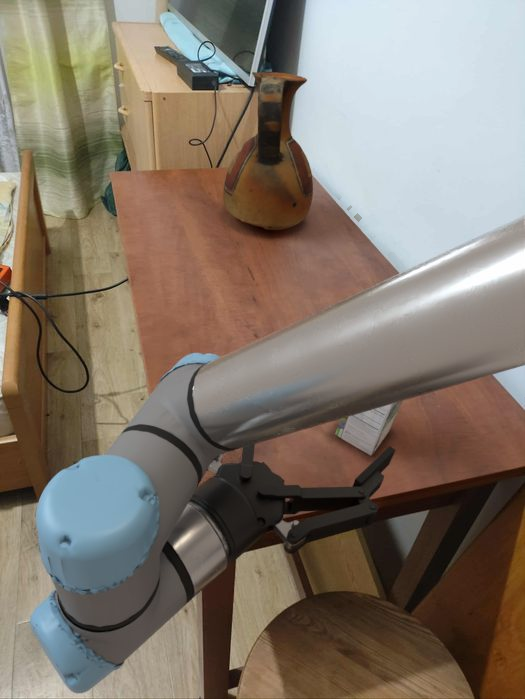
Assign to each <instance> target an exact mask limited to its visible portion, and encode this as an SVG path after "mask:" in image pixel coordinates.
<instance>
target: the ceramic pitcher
mask: <svg viewBox="0 0 525 699" xmlns="http://www.w3.org/2000/svg"><path fill="white" fill-rule="evenodd" d="M251 74H252V76H253V78H254V79H255V81H256V84H257V85H258V86H259V89H258V93H257V133H256V134H255V135H254V136H252V137H250V138H248V140H246V141H245V142H244V143H243V144H242V145H241V146H240V148H238V150H237V151H236V153H235V154H234V156H233V158H232V160H231V162H230V164H229V166H228V169H227V172H226V174H225V179H224V183H223V194H222V198H223V205H224V207H225V210H227V212H228V213H229V214H230V215H231V216H232V217H234V218H236V219H237V220H239V221H241V222H242V223H246V224H249V225H251V226H255V227H260V228H262V229H264V230H270V231H274V230H275V231H279V230H285V229H289V228H291V227H293V226H296V225H299V224H300V223H301V222H303V221H304V220H305V219H306V218H307V216H308V215H309V212H310V209H311V206H312V202H313V196H314V183H313V173H312V169H311V165H310V162H309V160H308V157H307V155H306V154H305V152H304V150H303V148H302V146H301V145H300V144H299V142H297V141H296V139H294V136H292V132H291V128H290V127H291V126H290V117H291V109H292V103H293V100H294V96H295V95H296V93H297V91H298V90H299V89H300V88H301V86H303V85H304V84H306V83H307V82H308V79H307V78H306V77H303V76H301V75H295V74H290V73H287V72H286V73H285V72H256V71H253V72H251Z"/></svg>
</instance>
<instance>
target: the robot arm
mask: <svg viewBox="0 0 525 699" xmlns="http://www.w3.org/2000/svg"><path fill="white" fill-rule="evenodd" d="M524 366H525V214H524V215H521V216H519V217H517V218H515V219H513V220H510V221H509V222H506V223H505V224H502V225H500V226H498V227H496V228H494V229H491V230H489V231H487V232H485V233H483V234H481V235H479V236H477V237H475V238H472V239H470V240H468V241H466V242H464V243H462V244H459V245H457V246H456V247H453V248H451V249H449V250H447V251H444V252H442V253H440V254H438V255H436V256H434V257H432V258H429V259H427V260H425V261H423V262H421V263H419V264H417V265H415V266H412V267H411V268H408V269H405V270H404V271H401V272H399V273H397V274H395V275H393V276H391V277H388V278H386V279H384V280H382V281H380V282H378V283H376V284H373V285H372V286H370V287H368V288H365V289H363V290H361V291H359V292H357V293H355V294H352V295H350V296H348V297H346V298H344V299H341V300H339V301H338V302H335V303H333V304H330V305H329V306H327V307H325V308H323V309H320V310H318V311H316V312H314V313H312V314H310V315H307V316H305V317H303V318H301V319H299V320H297V321H295V322H292V323H291V324H288V325H286V326H284V327H282V328H279V329H278V330H275V331H273V332H271V333H269V334H267V335H264V336H262V337H260V338H258V339H256V340H254V341H252V342H249V343H248V344H246V345H243V346H241V347H239V348H237V349H234V350H232V351H231V352H228V353H226V354H224V355H221V356H220V355H218V354H215V353H211V352H209V353H201V352H193V353H189V354H187V355H185V356H183V357H182V358H180V360H178V361H177V362H176V364H175V365H174V366H173V367H172V368H171V369H170V370H168V371H167V372H165V374H164V375H163V376H162V377H161V378H160V380H159V382H158V383H157V385H156V386H155V388H154V389H153V391H152V392H151V393H150V395H149V396H148V397H147V399H146V400H145V402H144V403H143V404H142V406H140V408H139V409H138V411H137V412H136V413H135V414H134V416H133V417H132V419H131V420H129V422H128V424H127V425H126V426H125V427H124V429H123V430H122V431H121V433H119V435H118V436H117V437H116V439H115V440H114V441H113V443H112V444H111V445H110V446H109V447H108V449H107V450H106V451H105V453H104V454H97V455H91V456H87V457H84V458H83V457H82V459H80V460H79V461H78V462H76V463H74V464H72V465H71V466H68V467H66V468H63V469H62V470H60V471H58V473H56V474H55V475H54V476H53V477H52V478H51V480H49V482H48V483H47V484H46V486H45V487H44V489H43V491H42V493H41V495H40V497H39V500H38V502H37V505H36V511H35V525H36V531H37V541H38V550H39V555H40V559H41V563H42V565H43V566H44V569H45V571H46V573H47V574H48V575H49V576H50V579H51V581H52V583H53V586H54V588H55V589H54V590H52V591H51V592H50V594H49V595H48V596H47V597H46V598H44V600H43V601H42V602H41V603H40V604H38V605H37V606H36V607H35V608H34V609H33V612H32V613H31V615H30V617H29V625H30V628H31V631H32V632H33V635H34V636H35V638H36V640H37V641H38V644H39V645H40V647H41V648H42V651H43V652H44V654H45V655H46V657H47V658H48V660H49V662H50V664H51V666H52V667H53V668H54V670H55V671H56V673H57V674H58V676H59V678H60V679H61V681H62V682H63V683H64V685H65V686H66V688H67V689H69V691H70V692H72V693H73V694H77V695H78V694H85V693H86V692H89V691H91V690H92V689H93V688H94V687H95V686H97V685H98V684H99V683H100V682H102V681H103V680H104V679H106V677H109V675H111V674H112V673H113V672H114V671H117V670H119V669H121V667H122V666H123V665H124V664H125V661H127V659H128V658H129V657H131V656H132V655H133V654H134V653H135V652H136V651H137V650H138V649H139V648H140V647H141V646H142V645H144V644H145V643H146V642H147V641H148V640H149V639H150V638H151V637H153V635H155V634H156V633H157V632H158V631H159V630H160V629H161V628H162V627H163V626H164V625H166V624H167V623H168V622H169V621H170V620H171V619H172V618H173V617H174V616H175V615H177V614H178V613H179V612H180V611H181V610H182V609H183V608H184V607H185V606H187V604H188V603H189V602H191V600H193V599H194V598H195V597H196V596H197V595H199V593H200V592H202V591H203V590H204V589H205V588H206V587H207V586H209V584H210V583H212V582H213V581H214V580H215V579H216V578H217V577H218V576H219V575H221V574H222V573H223V572H224V571H225V570H227V567H228V563H234V562H235V561H237V560H238V559H239V558H240V557H241V556H242V555H243V554H245V552H247V550H249V549H250V548H251V547H252V546H253V545H255V544H256V543H257V541H259V540H260V538H262V537H263V536H264V535H265V534H267V533H270V532H275V534H276V535H277V536H278V537H279V538H280V539H281V540H282V541H283V543H284V546H283V549H284V551H285V552H286V553H287V554H290V555H291V554H292V555H293V554H295V553H296V552H297V551H299V550H300V549H301V548H303V547H304V546H305V545H307V544H308V543H313V542H315V541H319V540H322V539H326V538H329V537H334V536H337V535H341V534H343V533H344V534H345V533H348V532H350V531H351V532H352V531H354V530H357V529H362V528H365V527H368V526H371V525H372V524H373V522H374V520H375V518H376V516H377V513H378V511H379V506H378V504H377V503H376V502H374V501H372V500H371V497H372V496H373V495H375V493H376V492H377V491H379V489H380V488H381V486H382V484H383V482H384V478H385V475H384V474H382V473H383V471H384V470H386V469H387V468H388V467H389V466H390V463H391V461H392V460H393V457H394V455H395V452H396V449H395V448H394V447H392V446H391V445H389V446H388V447H387V448H386V449H385V450H384V451H383V452H381V454H380V455H378V457H377V458H375V459H374V460H373V461H372V462H371V463H370V464H369V465H368V466H367V467H366V468H364V470H363V471H362V472H361V473H359V474H358V476H356V477H355V478H354V481H353V484H352V486H320V487H316V486H314V487H312V486H311V487H301V486H300V485H299V484H285V479H284V478H282V476H280V475H279V474H277V473H275V472H274V471H272V469H271V468H270V466H269V465H268V464H267V463H265V461H262V462H260V461H256V460H255V461H254V458H255V447H256V444H259V443H263V442H266V441H270V440H273V439H277V438H280V437H283V436H287V435H290V434H294V433H297V432H301V431H304V430H308V429H311V428H314V427H318V426H322V425H325V424H328V423H332V422H334V421H338V420H339V421H340V419H342V418H345V417H349V416H352V415H356V414H359V413H363V412H366V411H369V410H373V409H376V408H380V407H383V406H387V405H390V404H393V403H397V402H400V401H402V402H404V401H407V400H410V399H414V398H418V397H421V396H424V395H427V394H431V393H435V392H437V391H441V390H445V389H448V388H451V387H452V388H453V387H455V386H459V385H461V384H465V383H468V382H472V381H476V380H478V379H483V378H485V377H489V376H492V375H496V374H499V373H503V372H507V371H510V370H513V369H517V368H520V367H524ZM239 449H242V454H241V461H239V462H226V463H223V460H224V459H223V458H224V454H227V453H231V452H233V451H236V450H239ZM208 471H209V472H210V473H212V475H213V476H211V477H209V478H208V479H206V480H204V481H203V482H202V483H201V481H202V480H203V478H204V476H205V474H206V473H207V472H208ZM200 483H201V484H200ZM287 499H288V500H287ZM286 500H287V501H286ZM300 512H326V513H323V514H318V515H315V516H312V517H309V518H306V519H303V520H302V521H299V520H297V519H294V520H292V521H289V522H288V521H285V520H284V515H286V516H289V515H290V516H291V515H296V514H298V513H300Z"/></svg>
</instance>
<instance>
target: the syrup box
mask: <svg viewBox="0 0 525 699" xmlns="http://www.w3.org/2000/svg"><path fill="white" fill-rule="evenodd" d="M402 404H403V401H400V402H397V403H393V404H390V405H387V406H383V407H380V408H376V409H373V410H369V411H366V412H363V413H359V414H356V415H352V416H349V417H345V418H342V419H339V421H338V425H337V427H336V431H335V433H334V434H335V436H336V437H338V438H340V439H341V440H343V441H345V442H346V443H348V444H349V445H351V446H353V447H355V448H356V449H358V450H360V451H362V452H363V453H364V454H367V455H368V456H373V455H374V454H375V452H376V451H377V450H378V448H379V447H380V445H381V444H382V442H383V441H384V440H385V438H386V437H387V435H388V434H389V433H390V431H391V428H392V426H393V425H394V422H395V420H396V417H397V415H398V413H399V411H400V408H401V406H402Z"/></svg>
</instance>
